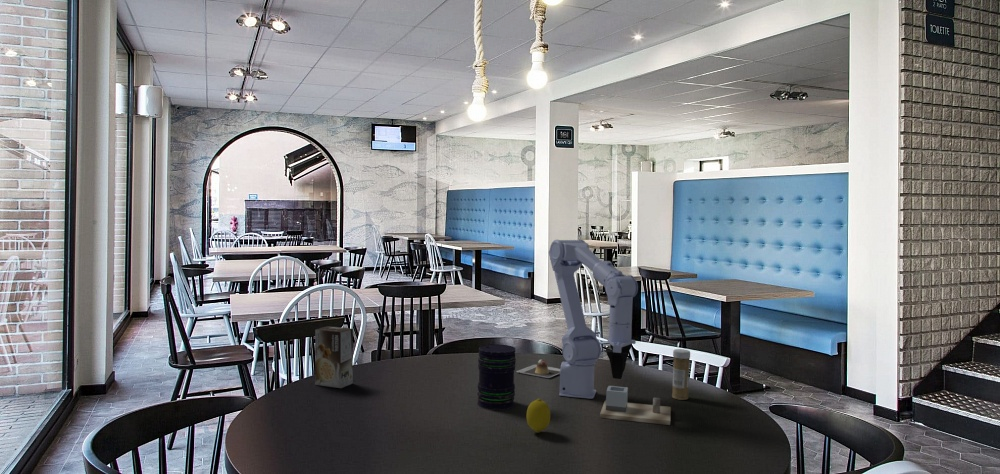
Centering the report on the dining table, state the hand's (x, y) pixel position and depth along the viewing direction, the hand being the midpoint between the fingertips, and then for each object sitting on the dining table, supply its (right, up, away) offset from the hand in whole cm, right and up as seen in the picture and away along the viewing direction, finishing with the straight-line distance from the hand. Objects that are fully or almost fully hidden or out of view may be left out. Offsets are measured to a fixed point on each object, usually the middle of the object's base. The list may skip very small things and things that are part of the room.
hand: (618, 374), depth 169 cm
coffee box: (-78, -7, +19) cm, 81 cm away
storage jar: (-32, -9, +3) cm, 33 cm away
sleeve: (-1, -8, -1) cm, 9 cm away
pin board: (+4, -10, -2) cm, 11 cm away
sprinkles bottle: (+20, -10, +13) cm, 26 cm away
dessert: (-17, -8, +38) cm, 43 cm away
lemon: (-22, -10, -18) cm, 30 cm away
